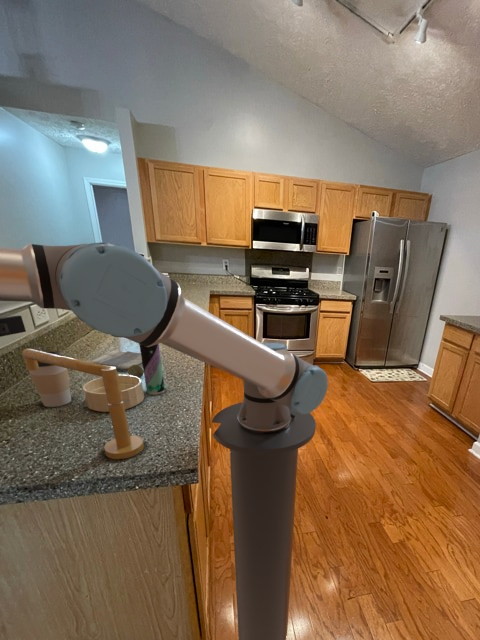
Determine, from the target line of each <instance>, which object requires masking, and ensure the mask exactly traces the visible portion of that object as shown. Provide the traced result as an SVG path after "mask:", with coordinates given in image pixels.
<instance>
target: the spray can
mask: <svg viewBox="0 0 480 640" xmlns="http://www.w3.org/2000/svg"><path fill="white" fill-rule="evenodd" d="M138 346H139V351H140V352H139V353H141V358H142V364H143V366H142V368H143V371H144V374H143V377H144V383H145V389H146V394H148V395H150V396H158V395H162V394H164V393H165V392H166V388H165V379H164V373H163V366H162V358H161V357H162V356H161V351H160V343H159V344H156V345H153V346H151V347H146V346H143V345H141V344H139V343H138Z"/></svg>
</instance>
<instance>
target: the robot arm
mask: <svg viewBox="0 0 480 640" xmlns="http://www.w3.org/2000/svg"><path fill="white" fill-rule="evenodd" d="M0 302H19V303H20V302H22V303H23V302H24V303H25V302H27V303H32V304H35V306H37V307H38V308H40V309H51V310H52V309H53V310H54V309H55V310H65V311H71V312H72V313H73V315H75V316H76V317H77V318H78V319H79V320H80V321H81V322H83V323H85V324H86V325H87V326H88V327H89V328H92V329H93V330H95V331H97V332H99V333H101V334H105V335H109V336H114V337H120V338H124V339H127V340H129V341H132V342H133V343H136V344H138V345H139V344H141V345H143V346H146V347H151V346H153V345H156V344H159V345H160V344H162V345H165V346H166V347H169V348H171V349H172V350H175V351H176V352H177V351H178V352H180V353H182V354H184V355H187V356H189V357H191V358H193V359H196V360H198V361H199V362H202V363H204V364H207V365H209V366H211V367H213V368H216V369H218V370H220V371H223V372H225V373H226V374H227V373H228V374H229V375H232V376H233V377H236V378H238V379H240V380H243V399H242V401H241V402H242V405H241V408H240V411H239V414H238V424H239V426H240V427H241V428H242V429H244V430H246V431H248V432H251V433H256V434H273V433H277V432H280V431H283V430H285V429H286V428H287V427H288V426H289V425H290V421H291V417H292V418H295V415H293V414H291V413H290V412H289V409H288V407H289V408H290V409H292V410H293V411H294V412H297V413H299V414H308V413H310V414H311V413H312V412H313V411H314V410H316V409H318V408H319V406H320V405H321V404H322V403H323V401H324V399H325V397H326V394H327V391H328V387H329V385H328V384H329V378H328V375H327V373H326V371H325V370H324V369H322V368H321V367H320V366H319V365H316V364H315V365H313V363H312V364H311V363H309V362H307V361H306V360H304V359H302V358H300V357H299V356H297V355H296V354H295V353H292V352H291V351H289V350H288V347H287V345H286V344H285V343H282V342H260V341H259V340H257V339H256V338H253V337H252V336H250V335H249V334H247V333H245V332H243V331H242V330H240V329H238V328H237V327H235V326H233V325H231V324H230V323H228V322H227V321H225V320H224V319H221V318H219V317H217V316H216V315H215V314H212V312H209V311H207V310H206V309H204V308H203V307H201V306H199V305H197V304H196V303H194V302H192V301H191V300H189V299H187V298H185V297H184V295H183V292H182V289H181V286H180V284H179V282H177V281H176V280H174V279H173V278H170V277H169V276H167V275H166V274H164V273H163V272H161V271H160V270H158V269H156V268H155V267H154V265H153V264H152V263H151V262H150V261H148V260H147V258H145V257H144V256H143V255H142V254H140V253H139V252H137V251H135V250H133V249H131V248H130V247H127V246H125V245H122V244H118V243H112V242H103V241H100V242H92V243H80V244H71V245H47V244H45V245H44V244H34V243H27V244H26V245H25V246H24V247H23V248H22V249H14V248H5V247H0ZM26 332H27V330H26V327H25V323H24V320H23V318H22V315H12V316H5V317H0V338H2V337H6V336H11V335H17V334H20V333H21V334H22V333H26Z"/></svg>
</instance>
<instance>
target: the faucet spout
mask: <svg viewBox="0 0 480 640" xmlns="http://www.w3.org/2000/svg"><path fill="white" fill-rule="evenodd" d="M46 352H47V351H41V350H37V349H33V348H25V349H22V351H21V356H22V357H23V360H24V363H25V366H26V369H27V371H29V370H37V369H39V366H38V363H37V361H39V362H43V363H47V364H51V365H56V366H60V367H64V368H67V370H68V369H69V370H73V371H77V372H81V373H85V374H90V375H94V376H98V377H102V378H103V382H104V387H105V391H106V396H107V401H108V403H109V404H118V403H120V402H122V401H123V400H122V395H121V390H120V385H119V380H118V375H119V374H118V370H117V369H116V367H112V366H104V365H100V364H95V363H91V361H87V360H82V359H77V358H74V357H73V358H72V357H68V356H64V355H62V356H60V355H61V354H60V355H55V354H51V353H46Z"/></svg>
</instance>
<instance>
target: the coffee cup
mask: <svg viewBox="0 0 480 640" xmlns="http://www.w3.org/2000/svg"><path fill="white" fill-rule="evenodd" d="M45 352H46V353H51V354H55V355H60V356H63V354H60V353H59V352H58V351H52V350H51V351H50V350H49V351H45ZM37 363H38V366H39V369H37V370H28V371H29V375H30V377H31V380H32V382H33V384H34V388H35V389H36V392H37V393H38V395H39V397H40V400H41V403H42V404H43V406H44V407H46V408H56V407H63V406H65V405H67V404H69V403H71V402H72V396H71V388H70V387H71V386H70V377H69V371H68V368H64V367H60V366H56V365H51V364H47V363H43V362H39V361H37Z"/></svg>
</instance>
